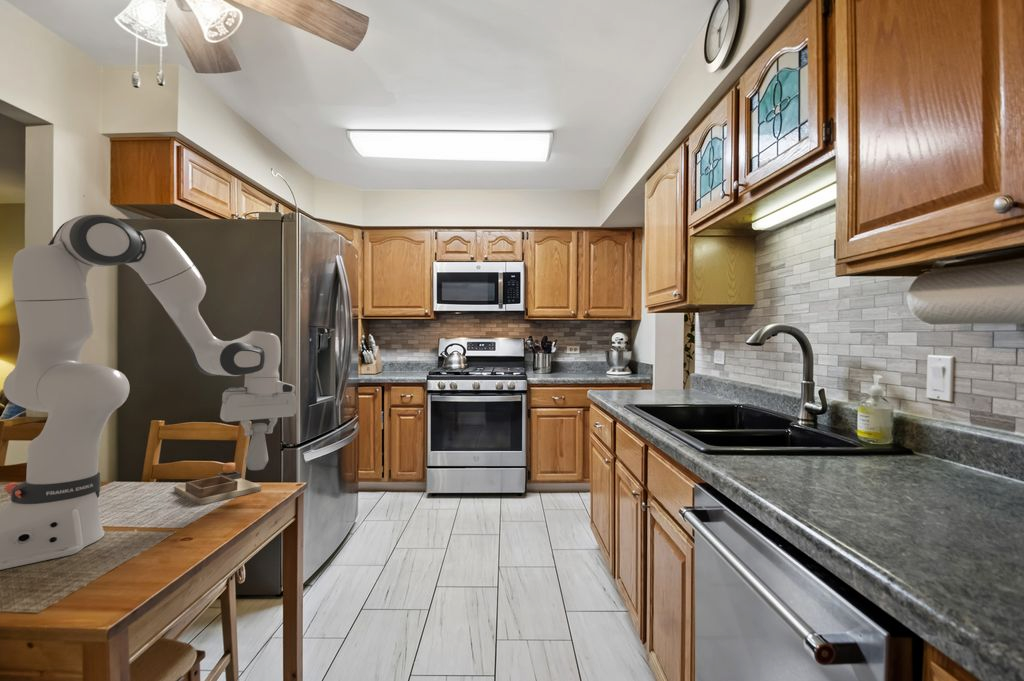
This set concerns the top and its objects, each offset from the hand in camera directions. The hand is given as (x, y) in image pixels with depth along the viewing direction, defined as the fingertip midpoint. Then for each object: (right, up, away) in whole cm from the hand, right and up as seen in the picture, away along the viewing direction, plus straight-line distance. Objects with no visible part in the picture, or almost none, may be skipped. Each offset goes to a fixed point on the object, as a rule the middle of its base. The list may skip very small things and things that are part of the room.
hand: (258, 434), depth 131 cm
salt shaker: (0, -10, 0) cm, 10 cm away
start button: (-16, -14, +11) cm, 24 cm away
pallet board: (-14, -18, +3) cm, 23 cm away
